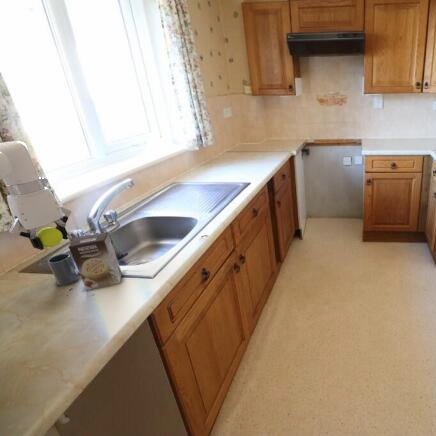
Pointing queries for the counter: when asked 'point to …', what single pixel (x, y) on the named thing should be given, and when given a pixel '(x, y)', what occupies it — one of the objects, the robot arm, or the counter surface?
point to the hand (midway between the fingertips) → (52, 243)
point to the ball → (50, 237)
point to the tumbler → (63, 269)
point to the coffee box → (96, 260)
